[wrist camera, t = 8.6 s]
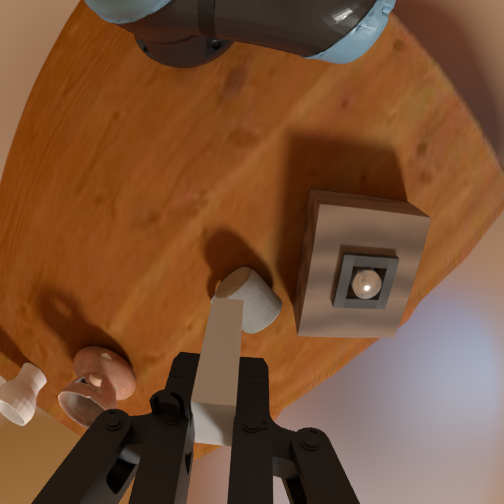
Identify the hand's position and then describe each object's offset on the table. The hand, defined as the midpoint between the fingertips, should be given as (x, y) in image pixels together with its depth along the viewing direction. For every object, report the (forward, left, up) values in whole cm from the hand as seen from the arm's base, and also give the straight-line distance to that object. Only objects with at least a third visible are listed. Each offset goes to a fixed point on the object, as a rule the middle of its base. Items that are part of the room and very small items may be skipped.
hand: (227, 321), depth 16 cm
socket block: (+10, +17, -32) cm, 38 cm away
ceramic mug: (+18, +1, -33) cm, 37 cm away
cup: (+50, -53, -33) cm, 79 cm away
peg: (+10, +17, -31) cm, 37 cm away
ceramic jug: (+40, -28, -33) cm, 59 cm away
